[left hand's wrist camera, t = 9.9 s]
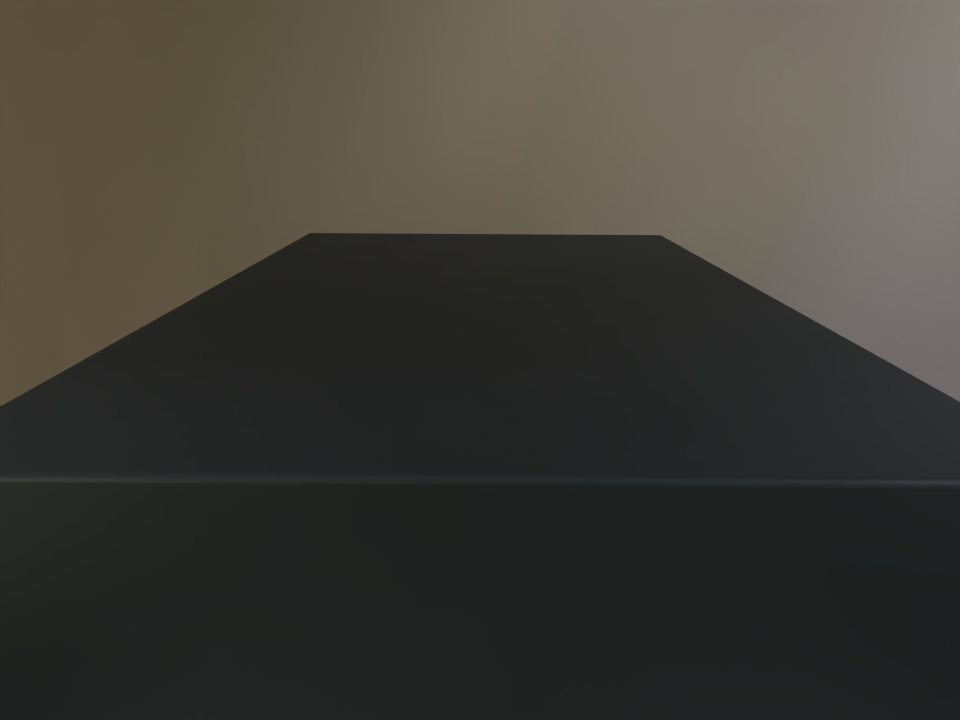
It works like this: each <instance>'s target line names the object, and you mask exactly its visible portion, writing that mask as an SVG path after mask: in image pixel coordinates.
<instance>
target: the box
mask: <svg viewBox="0 0 960 720" xmlns="http://www.w3.org/2000/svg"><path fill="white" fill-rule="evenodd" d="M0 720H960V402H959V401H957V400H955V399H954V398H952V397H950V396H948V395H946V394H945V393H943V392H941V391H939V390H937V389H936V388H934V387H932V386H930V385H928V384H927V383H925V382H923V381H921V380H919V379H918V378H916V377H914V376H912V375H910V374H909V373H907V372H905V371H903V370H901V369H900V368H898V367H896V366H894V365H892V364H891V363H889V362H887V361H885V360H884V359H882V358H880V357H878V356H876V355H875V354H873V353H871V352H869V351H867V350H866V349H864V348H862V347H860V346H858V345H857V344H855V343H853V342H851V341H849V340H848V339H846V338H844V337H842V336H840V335H839V334H837V333H835V332H833V331H831V330H830V329H828V328H826V327H824V326H822V325H821V324H819V323H817V322H815V321H813V320H812V319H810V318H808V317H806V316H804V315H803V314H801V313H799V312H797V311H795V310H794V309H792V308H790V307H788V306H786V305H785V304H783V303H781V302H779V301H777V300H776V299H774V298H772V297H770V296H769V295H767V294H765V293H763V292H761V291H760V290H758V289H756V288H754V287H752V286H751V285H749V284H747V283H745V282H743V281H742V280H740V279H738V278H736V277H734V276H733V275H731V274H729V273H727V272H725V271H724V270H722V269H720V268H718V267H716V266H715V265H713V264H711V263H709V262H707V261H706V260H704V259H702V258H700V257H698V256H697V255H695V254H693V253H691V252H689V251H688V250H686V249H684V248H682V247H680V246H679V245H677V244H675V243H673V242H671V241H670V240H668V239H666V238H664V237H662V236H660V235H518V234H358V233H310V234H308V235H306V236H304V237H302V238H300V239H299V240H297V241H295V242H293V243H292V244H290V245H288V246H286V247H284V248H283V249H281V250H279V251H277V252H275V253H274V254H272V255H270V256H268V257H267V258H265V259H263V260H261V261H259V262H258V263H256V264H254V265H252V266H250V267H249V268H247V269H245V270H243V271H242V272H240V273H238V274H236V275H234V276H233V277H231V278H229V279H227V280H225V281H224V282H222V283H220V284H218V285H217V286H215V287H213V288H211V289H209V290H208V291H206V292H204V293H202V294H200V295H199V296H197V297H195V298H193V299H192V300H190V301H188V302H186V303H184V304H183V305H181V306H179V307H177V308H175V309H174V310H172V311H170V312H168V313H167V314H165V315H163V316H161V317H159V318H158V319H156V320H154V321H152V322H150V323H149V324H147V325H145V326H143V327H142V328H140V329H138V330H136V331H134V332H133V333H131V334H129V335H127V336H125V337H124V338H122V339H120V340H118V341H117V342H115V343H113V344H111V345H109V346H108V347H106V348H104V349H102V350H100V351H99V352H97V353H95V354H93V355H92V356H90V357H88V358H86V359H84V360H83V361H81V362H79V363H77V364H75V365H74V366H72V367H70V368H68V369H67V370H65V371H63V372H61V373H59V374H58V375H56V376H54V377H52V378H50V379H49V380H47V381H45V382H43V383H42V384H40V385H38V386H36V387H34V388H33V389H31V390H29V391H27V392H25V393H24V394H22V395H20V396H18V397H17V398H15V399H13V400H11V401H9V402H8V403H6V404H4V405H2V406H0Z"/></svg>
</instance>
